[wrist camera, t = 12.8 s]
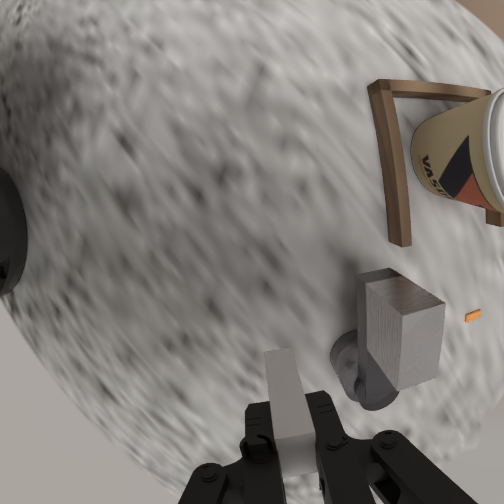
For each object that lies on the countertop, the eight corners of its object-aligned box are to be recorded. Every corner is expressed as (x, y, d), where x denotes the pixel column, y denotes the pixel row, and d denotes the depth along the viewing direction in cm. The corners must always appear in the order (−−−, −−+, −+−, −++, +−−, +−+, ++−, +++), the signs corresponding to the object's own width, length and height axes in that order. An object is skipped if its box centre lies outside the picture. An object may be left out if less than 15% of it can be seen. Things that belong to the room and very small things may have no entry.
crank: (390, 391, 24) (424, 444, 17) (352, 402, 24) (380, 460, 17) (394, 266, 21) (450, 301, 14) (350, 275, 21) (396, 317, 14)
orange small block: (464, 321, 29) (466, 322, 28) (465, 314, 28) (467, 315, 28) (478, 316, 29) (480, 317, 28) (479, 309, 28) (481, 310, 28)
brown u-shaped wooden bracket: (389, 241, 26) (402, 247, 24) (366, 86, 23) (378, 79, 21) (491, 222, 26) (506, 225, 24) (476, 94, 23) (490, 90, 21)
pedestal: (331, 377, 29) (344, 408, 24) (328, 336, 28) (344, 364, 23) (376, 366, 29) (395, 393, 24) (377, 324, 28) (399, 349, 23)
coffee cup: (385, 161, 25) (476, 154, 13) (429, 90, 23) (513, 59, 11) (448, 224, 26) (538, 250, 14) (485, 154, 25) (570, 154, 13)
